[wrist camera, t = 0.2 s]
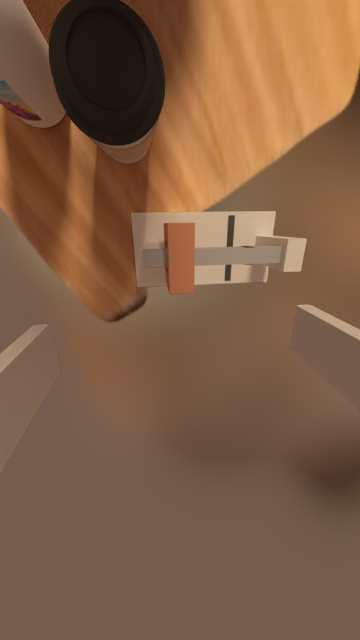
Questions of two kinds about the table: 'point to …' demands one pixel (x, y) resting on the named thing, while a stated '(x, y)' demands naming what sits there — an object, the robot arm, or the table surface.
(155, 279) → the rail
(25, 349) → the robot arm
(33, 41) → the milk bottle
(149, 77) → the coffee cup
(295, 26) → the table surface
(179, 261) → the notched orange block
